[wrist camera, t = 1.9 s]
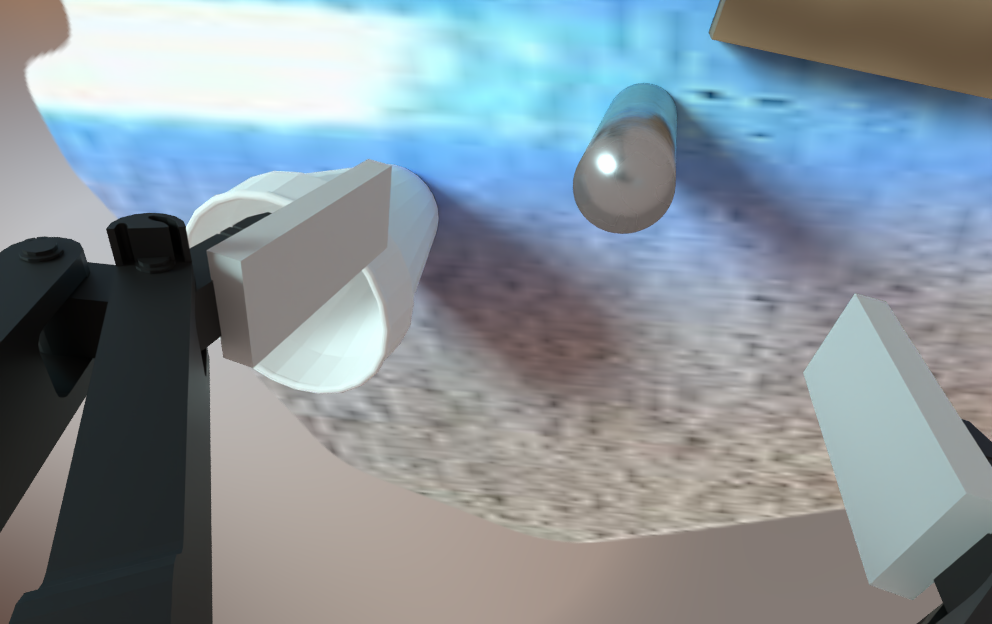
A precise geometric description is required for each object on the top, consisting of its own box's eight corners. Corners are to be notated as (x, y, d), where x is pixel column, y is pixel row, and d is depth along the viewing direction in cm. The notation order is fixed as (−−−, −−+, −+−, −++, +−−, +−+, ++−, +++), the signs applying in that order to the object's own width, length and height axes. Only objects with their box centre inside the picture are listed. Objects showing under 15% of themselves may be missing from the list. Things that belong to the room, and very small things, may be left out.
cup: (296, 216, 42) (158, 303, 31) (361, 83, 35) (211, 134, 24) (422, 312, 43) (333, 429, 32) (508, 203, 36) (433, 304, 25)
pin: (617, 76, 30) (587, 125, 20) (687, 92, 30) (691, 150, 20) (598, 145, 32) (562, 219, 23) (663, 161, 32) (655, 244, 22)
